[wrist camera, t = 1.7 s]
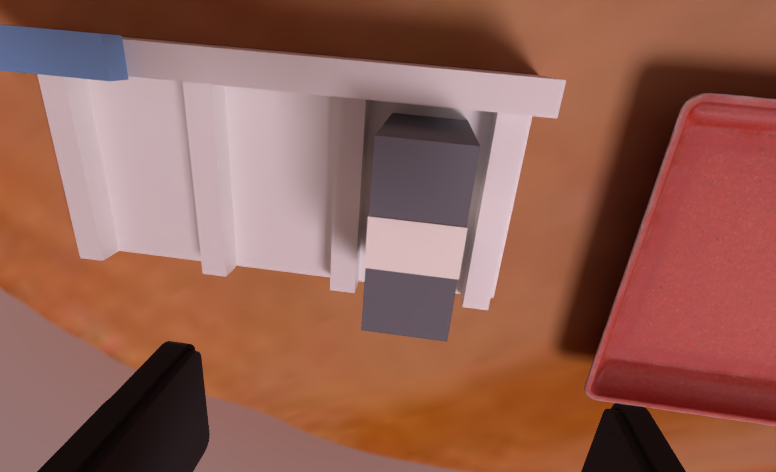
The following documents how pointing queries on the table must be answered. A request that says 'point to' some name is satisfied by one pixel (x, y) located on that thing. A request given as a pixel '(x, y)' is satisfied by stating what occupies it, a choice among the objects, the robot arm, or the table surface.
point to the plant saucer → (701, 273)
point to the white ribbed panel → (260, 149)
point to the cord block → (417, 224)
